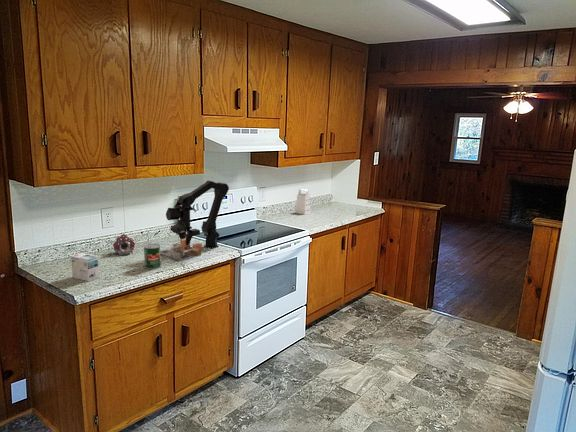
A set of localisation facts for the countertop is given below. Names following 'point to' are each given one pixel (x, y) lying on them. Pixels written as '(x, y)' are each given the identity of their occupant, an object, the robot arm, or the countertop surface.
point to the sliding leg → (181, 245)
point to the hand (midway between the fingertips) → (185, 244)
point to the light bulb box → (85, 266)
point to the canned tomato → (152, 256)
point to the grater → (302, 203)
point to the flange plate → (174, 255)
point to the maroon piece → (124, 245)
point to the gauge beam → (191, 249)
